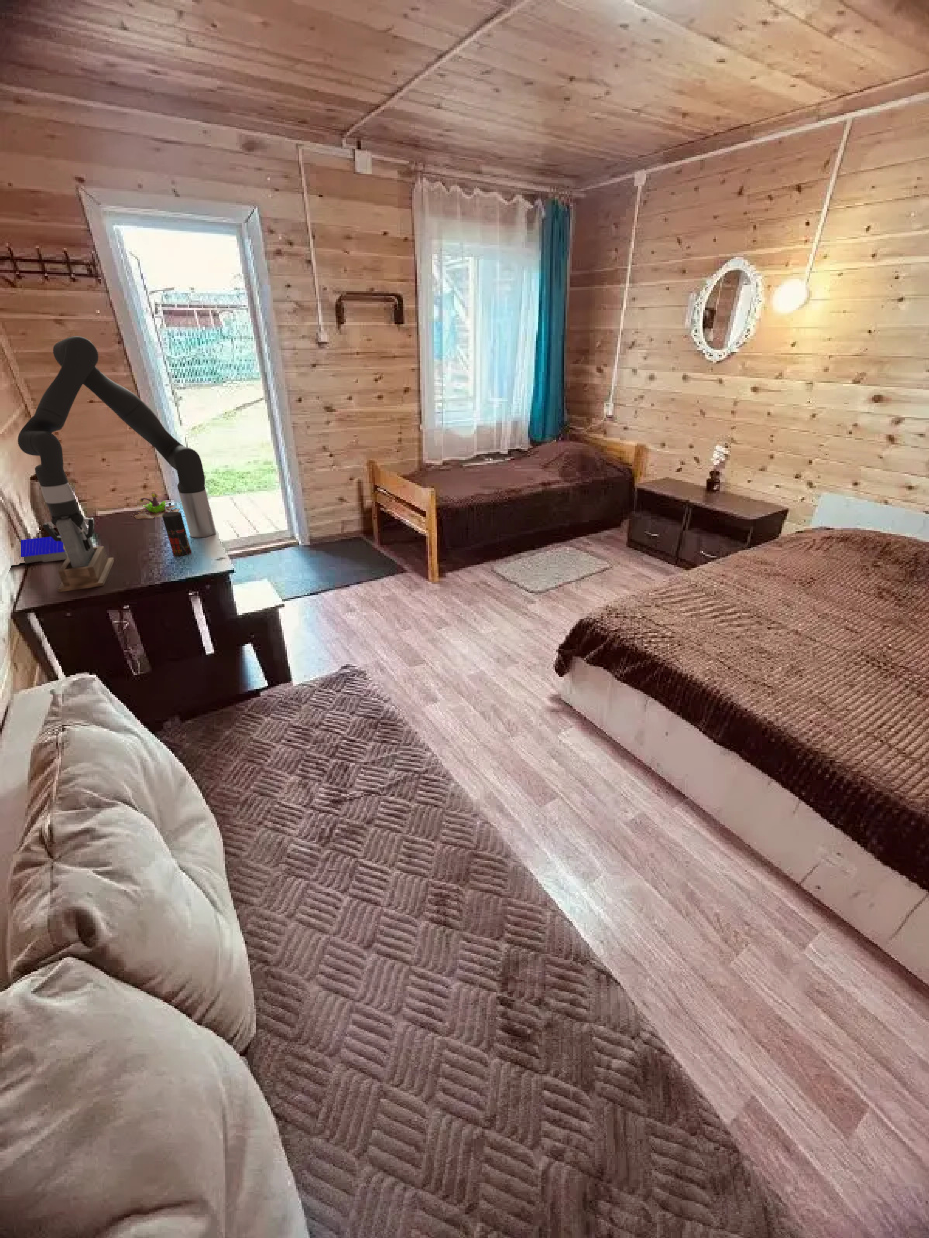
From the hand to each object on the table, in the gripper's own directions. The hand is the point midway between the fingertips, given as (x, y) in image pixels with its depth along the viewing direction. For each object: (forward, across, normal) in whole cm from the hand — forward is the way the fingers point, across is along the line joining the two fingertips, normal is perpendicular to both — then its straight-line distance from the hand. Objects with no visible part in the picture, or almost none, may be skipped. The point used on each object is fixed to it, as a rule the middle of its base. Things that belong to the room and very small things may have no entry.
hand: (79, 550), depth 169 cm
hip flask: (+6, 0, 0) cm, 6 cm away
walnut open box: (+8, 0, 0) cm, 8 cm away
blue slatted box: (+9, +20, -26) cm, 34 cm away
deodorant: (+9, -28, -8) cm, 30 cm away
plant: (+9, -16, -65) cm, 67 cm away
